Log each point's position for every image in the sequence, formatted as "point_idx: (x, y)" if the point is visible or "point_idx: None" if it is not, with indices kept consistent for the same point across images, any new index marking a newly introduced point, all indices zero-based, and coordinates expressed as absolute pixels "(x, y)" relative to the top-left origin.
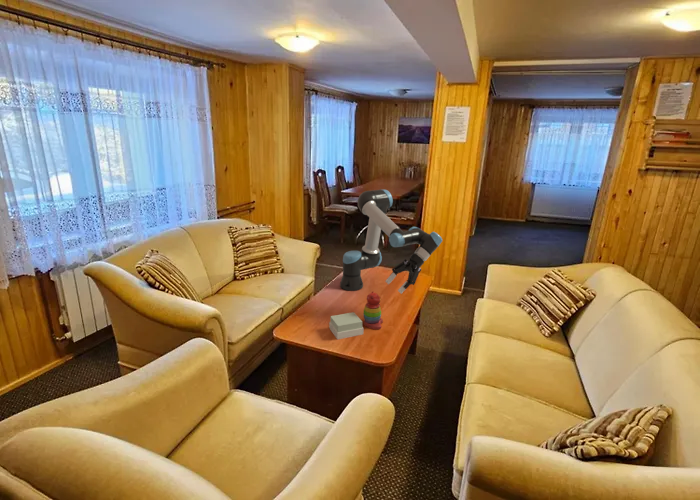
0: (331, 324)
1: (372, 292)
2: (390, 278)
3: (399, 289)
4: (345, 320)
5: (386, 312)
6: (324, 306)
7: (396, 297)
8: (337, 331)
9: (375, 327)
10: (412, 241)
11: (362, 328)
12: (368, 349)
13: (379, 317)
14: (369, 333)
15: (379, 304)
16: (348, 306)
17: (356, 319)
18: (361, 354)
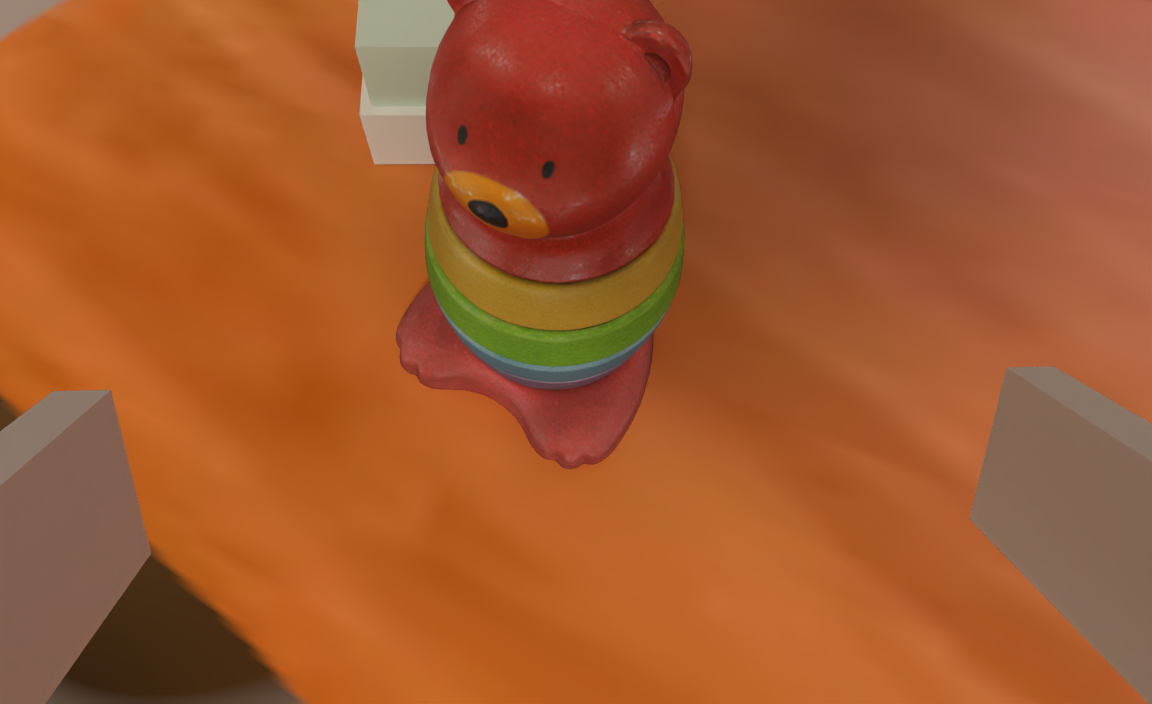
0: None
1: (638, 22)
2: (1146, 541)
3: (19, 427)
4: None
5: (801, 637)
6: (1050, 41)
7: None
8: None
9: (414, 299)
10: None
11: (360, 105)
12: (99, 108)
13: (447, 320)
14: (365, 223)
15: (515, 260)
16: (1033, 244)
17: (432, 11)
18: (64, 34)
